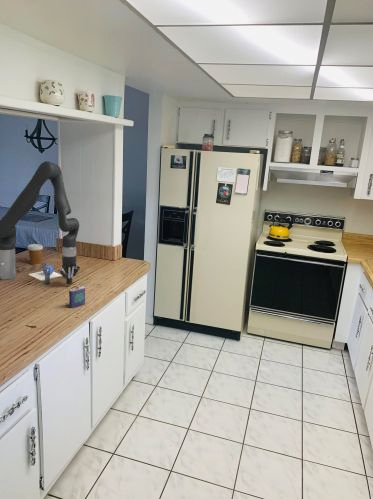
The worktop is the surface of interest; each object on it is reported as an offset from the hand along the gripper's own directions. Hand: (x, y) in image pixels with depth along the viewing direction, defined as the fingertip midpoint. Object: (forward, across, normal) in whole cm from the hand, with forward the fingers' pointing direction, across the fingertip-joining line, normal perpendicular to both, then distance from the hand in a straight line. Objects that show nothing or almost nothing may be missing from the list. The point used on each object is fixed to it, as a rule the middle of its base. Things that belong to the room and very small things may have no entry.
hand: (69, 284), depth 217 cm
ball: (-2, -2, -24) cm, 25 cm away
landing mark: (+2, -1, -25) cm, 25 cm away
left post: (+2, +7, -11) cm, 13 cm away
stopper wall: (+2, -1, -39) cm, 39 cm away
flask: (+2, +12, +25) cm, 28 cm away
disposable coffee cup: (+2, -9, -49) cm, 50 cm away
